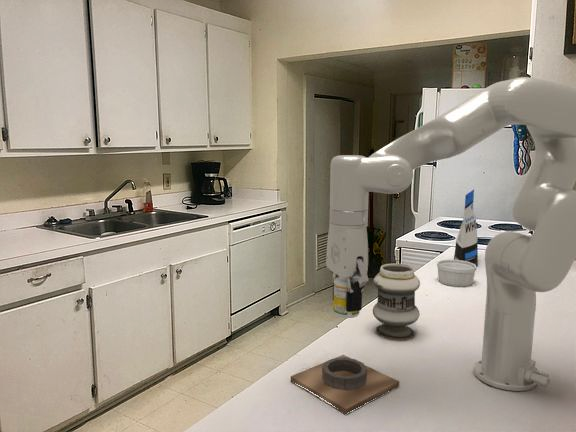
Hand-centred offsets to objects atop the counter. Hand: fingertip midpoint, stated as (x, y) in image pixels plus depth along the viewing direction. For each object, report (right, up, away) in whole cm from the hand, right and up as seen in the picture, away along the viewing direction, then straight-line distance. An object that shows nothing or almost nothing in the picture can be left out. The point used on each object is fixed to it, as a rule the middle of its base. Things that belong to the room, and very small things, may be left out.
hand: (346, 304), depth 96 cm
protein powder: (+61, -2, +98) cm, 115 cm away
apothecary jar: (+17, -13, +29) cm, 36 cm away
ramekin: (+48, -6, +73) cm, 88 cm away
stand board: (0, -17, +3) cm, 17 cm away
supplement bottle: (0, -2, 0) cm, 2 cm away
